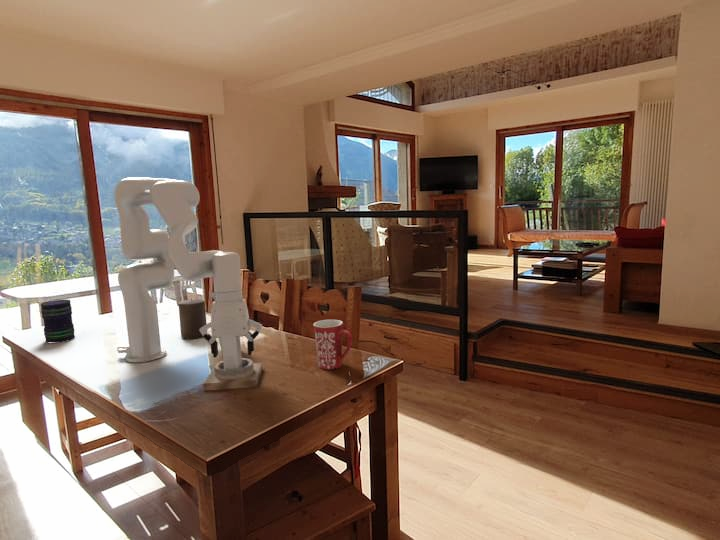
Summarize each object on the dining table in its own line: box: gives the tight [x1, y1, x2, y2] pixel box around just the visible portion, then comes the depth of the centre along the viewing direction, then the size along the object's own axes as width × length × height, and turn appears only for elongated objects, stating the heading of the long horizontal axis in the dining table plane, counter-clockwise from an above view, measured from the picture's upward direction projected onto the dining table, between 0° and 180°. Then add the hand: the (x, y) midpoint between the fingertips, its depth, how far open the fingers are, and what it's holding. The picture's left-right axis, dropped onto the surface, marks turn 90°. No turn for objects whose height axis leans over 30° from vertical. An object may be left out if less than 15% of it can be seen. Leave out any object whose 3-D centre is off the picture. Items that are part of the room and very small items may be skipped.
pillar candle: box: [178, 298, 208, 340], centre depth 176 cm, size 10×10×15 cm
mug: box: [312, 319, 353, 370], centre depth 137 cm, size 13×9×14 cm
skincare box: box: [221, 335, 243, 370], centre depth 129 cm, size 6×4×12 cm
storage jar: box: [40, 299, 76, 343], centre depth 176 cm, size 10×10×15 cm
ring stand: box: [203, 357, 263, 392], centre depth 130 cm, size 14×14×4 cm
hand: (233, 354), depth 130 cm, fingers open, 9 cm apart
